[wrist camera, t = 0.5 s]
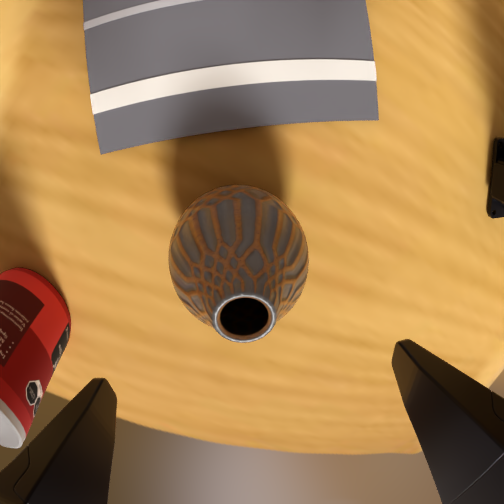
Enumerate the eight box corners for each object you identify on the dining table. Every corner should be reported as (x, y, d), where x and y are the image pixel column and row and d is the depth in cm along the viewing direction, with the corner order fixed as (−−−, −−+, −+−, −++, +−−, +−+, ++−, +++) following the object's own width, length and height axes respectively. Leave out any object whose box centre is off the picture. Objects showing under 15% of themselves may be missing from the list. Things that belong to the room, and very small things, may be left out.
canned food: (35, 352, 23) (-10, 447, 13) (-16, 281, 19) (-87, 367, 9) (93, 334, 22) (47, 451, 12) (35, 249, 19) (-54, 350, 9)
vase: (231, 296, 21) (236, 400, 14) (155, 225, 19) (114, 312, 11) (313, 233, 20) (366, 319, 12) (242, 148, 17) (257, 186, 9)
